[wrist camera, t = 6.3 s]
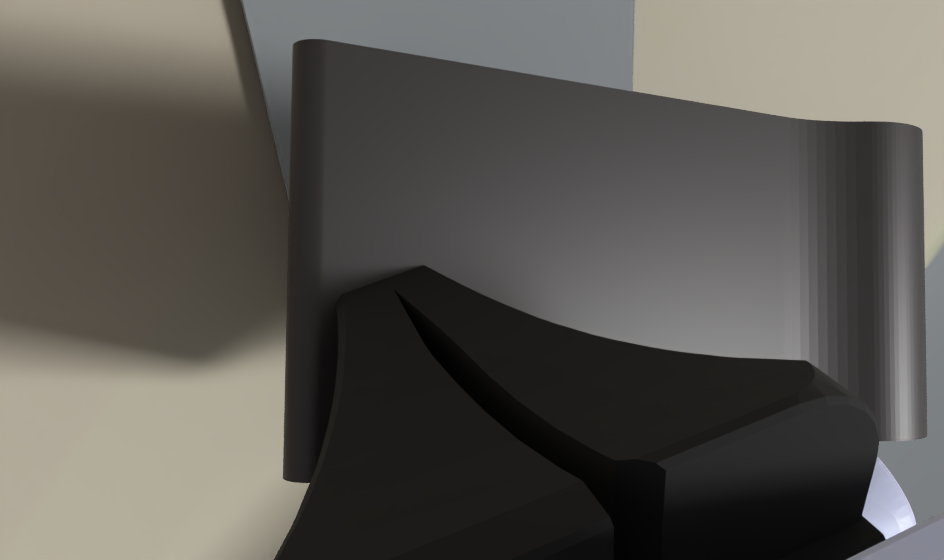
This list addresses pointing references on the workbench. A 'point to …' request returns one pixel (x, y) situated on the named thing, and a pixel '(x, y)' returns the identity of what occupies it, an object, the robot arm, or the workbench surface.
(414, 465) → the robot arm
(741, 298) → the phone stand
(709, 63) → the workbench surface
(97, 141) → the workbench surface
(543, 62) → the mat
